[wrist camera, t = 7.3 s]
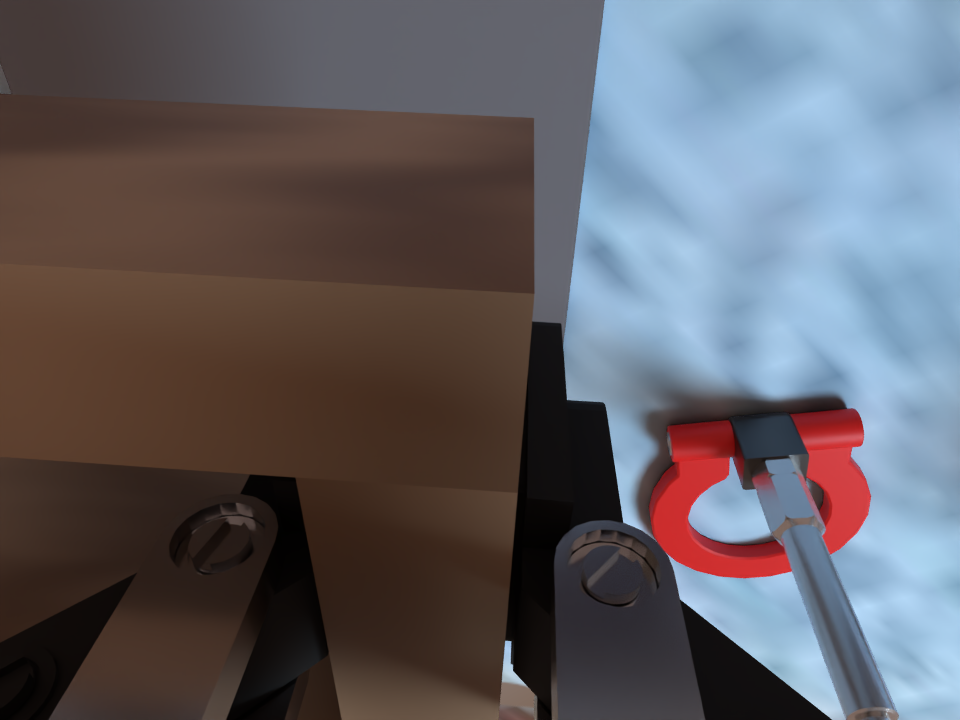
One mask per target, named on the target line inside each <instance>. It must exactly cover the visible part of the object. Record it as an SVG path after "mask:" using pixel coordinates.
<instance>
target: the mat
mask: <svg viewBox="0 0 960 720" xmlns="http://www.w3.org/2000/svg"><path fill="white" fill-rule="evenodd" d="M604 1H605V0H0V63H1V65H2V68H3V71H4V74H5V76H6V79H7V82H8V85H9V87H10V90H11V93H12V94H13V95H35V96H58V97H80V98H102V99H124V100H147V101H169V102H191V103H213V104H235V105H258V106H280V107H302V108H324V109H347V110H369V111H391V112H413V113H436V114H458V115H480V116H502V117H525V118H534V290H535V294H534V306H533V318H532V321H534V322H551V323H561V325H562V338H563V342H564V333H565V325H566V317H567V308H568V300H569V292H570V283H571V275H572V267H573V259H574V250H575V242H576V234H577V225H578V217H579V209H580V200H581V192H582V184H583V176H584V167H585V159H586V151H587V142H588V134H589V126H590V117H591V109H592V101H593V93H594V84H595V76H596V68H597V59H598V51H599V43H600V35H601V26H602V18H603V10H604Z"/></svg>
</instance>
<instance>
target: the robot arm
mask: <svg viewBox="0 0 960 720" xmlns="http://www.w3.org/2000/svg"><path fill="white" fill-rule="evenodd" d="M505 641H512V642H511V664H513V671H514V672H515V673H516V674H517V675H518V677H519V678H520V679H521V680H522V681H523V682H524V683H525V684H526V685H527V686H528V687H529V688H530V689H531V691H532V692H533V693H534V694H535V698H534V720H832V719H830V718H829V717H828V716H827V715H825V714H824V713H823V712H822V711H820V710H819V709H818V708H816V707H815V706H814V705H813V704H811V703H810V702H809V701H808V700H806V699H805V698H804V697H803V696H801V695H800V694H799V693H798V692H796V691H795V690H794V689H792V688H791V687H790V686H789V685H787V684H786V683H785V682H784V681H782V680H781V679H780V678H779V677H777V676H776V675H775V674H774V673H772V672H771V671H770V670H768V669H767V668H766V667H765V666H763V665H762V664H761V663H760V662H758V661H757V660H756V659H755V658H753V657H752V656H751V655H750V654H748V653H747V652H746V651H744V650H743V649H742V648H741V647H739V646H738V645H737V644H736V643H734V642H733V641H732V640H731V639H729V638H728V637H727V636H725V635H724V634H723V633H722V632H720V631H719V630H718V629H717V628H715V627H714V626H713V625H712V624H710V623H709V622H708V621H707V620H705V619H704V618H703V617H701V616H700V615H699V614H698V613H696V612H695V611H694V610H693V609H691V608H690V607H689V606H688V605H686V604H685V603H684V602H683V601H681V600H680V598H679V593H678V588H677V584H676V579H675V574H674V570H673V567H672V565H671V562H670V560H669V557H668V555H667V554H666V553H665V551H664V550H663V549H662V548H661V546H660V545H659V544H658V543H657V542H656V541H655V540H654V539H652V538H651V537H650V536H648V535H647V534H646V533H644V532H643V531H641V530H639V529H637V528H635V527H632V526H630V525H628V524H625V523H623V518H622V511H621V505H620V498H619V491H618V485H617V478H616V471H615V465H614V458H613V451H612V445H611V438H610V431H609V425H608V418H607V411H606V407H605V404H604V403H602V402H587V401H571V400H567V395H566V381H565V367H564V352H563V338H562V325H561V323H551V322H534V321H532V329H531V341H530V353H529V365H528V376H527V388H526V400H525V412H524V423H523V435H522V447H521V459H520V471H519V482H518V494H517V506H516V518H515V529H514V541H513V553H512V565H511V576H510V588H509V600H508V612H507V624H506V635H505ZM328 653H329V650H328V645H327V640H326V634H325V629H324V624H323V619H322V613H321V608H320V603H319V598H318V593H317V587H316V582H315V577H314V572H313V566H312V561H311V556H310V551H309V545H308V540H307V535H306V530H305V524H304V519H303V514H302V509H301V504H300V498H299V493H298V488H297V483H296V477H282V476H268V475H254V474H250V476H249V478H248V479H247V481H246V483H245V485H244V487H243V489H242V491H241V493H240V494H230V495H220V496H216V497H212V498H209V499H205V500H203V501H200V502H198V503H196V504H194V505H192V506H190V507H188V508H186V509H185V510H184V511H183V512H181V513H180V514H179V515H177V516H176V517H175V518H173V519H172V520H171V522H170V523H169V524H168V525H167V527H166V528H165V529H164V530H163V531H162V533H161V534H160V536H159V538H158V539H157V541H156V543H155V544H154V546H153V548H152V549H151V551H150V553H149V554H148V556H147V558H146V559H145V561H144V562H143V564H142V566H141V567H140V569H139V571H138V572H137V573H135V574H133V575H131V576H129V577H127V578H125V579H123V580H121V581H119V582H117V583H115V584H114V585H112V586H110V587H108V588H106V589H104V590H102V591H100V592H98V593H96V594H94V595H92V596H90V597H88V598H86V599H84V600H82V601H80V602H78V603H76V604H74V605H73V606H71V607H69V608H67V609H65V610H63V611H61V612H59V613H57V614H55V615H53V616H51V617H49V618H47V619H45V620H43V621H41V622H39V623H37V624H35V625H33V626H32V627H30V628H28V629H26V630H24V631H22V632H20V633H18V634H16V635H14V636H12V637H10V638H8V639H6V640H4V641H2V642H0V720H297V718H298V715H299V711H300V708H301V705H302V701H303V698H304V694H305V691H306V687H307V684H308V679H309V671H310V668H311V667H312V666H314V665H315V664H316V663H318V662H319V661H321V660H322V659H324V658H325V657H327V656H328Z"/></svg>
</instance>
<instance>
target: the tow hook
mask: <svg viewBox="0 0 960 720" xmlns="http://www.w3.org/2000/svg"><path fill="white" fill-rule="evenodd" d="M863 440H864V430H863V424H862V420H861V417H860V415H859V413H858V412H857V411H856V410H855V409H853V408H851V409H840V410H830V411H819V412H808V413H798V414H789V413H787V412H778V413H768V414H757V415H746V416H736V417H730V418H729V419H728V420H723V421H712V422H702V423H691V424H680V425H670V426H668V428H667V445H668V451H669V455H670V457H671V459H672V462H675V464H674V465H673V466H671V467H670V468H669V469H668V470H667V471H665V473H664V474H663V476H662V477H661V479H660V480H659V482H658V483H657V484H656V486H655V487H654V489H653V492H652V496H651V500H650V504H649V512H650V519H651V525H652V531H653V535H654V537H655V539H656V540H657V542H658V544H659V545H660V546H661V548H662V549H663V550H664V551H665V552H666V553H667V554H668V555H669V556H671V557H672V558H673V559H674V560H675V561H677V562H679V563H681V564H683V565H685V566H687V567H689V568H691V569H694V570H696V571H700V572H704V573H708V574H712V575H716V576H721V577H735V578H753V577H766V576H773V575H778V574H782V573H787V572H791V571H792V572H793V575H794V578H795V581H796V583H797V586H798V589H799V592H800V594H801V597H802V600H803V603H804V605H805V608H806V611H807V614H808V616H809V619H810V622H811V625H812V627H813V630H814V633H815V636H816V638H817V641H818V644H819V647H820V649H821V652H822V655H823V658H824V661H825V663H826V666H827V669H828V672H829V674H830V677H831V680H832V683H833V685H834V688H835V691H836V694H837V696H838V699H839V702H840V705H841V707H842V710H843V713H844V716H845V718H846V720H897V719H898V717H899V715H898V712H897V710H896V708H895V705H894V703H893V701H892V698H891V696H890V694H889V691H888V689H887V687H886V684H885V682H884V680H883V677H882V675H881V673H880V670H879V668H878V666H877V663H876V661H875V658H874V656H873V654H872V651H871V649H870V647H869V644H868V642H867V640H866V637H865V635H864V633H863V630H862V628H861V626H860V623H859V621H858V619H857V616H856V614H855V612H854V609H853V607H852V605H851V602H850V600H849V598H848V595H847V593H846V591H845V588H844V586H843V584H842V581H841V579H840V577H839V574H838V572H837V570H836V567H835V565H834V563H833V560H832V558H831V556H830V554H832V553H834V552H835V551H837V550H839V549H840V548H842V547H843V546H844V545H845V544H846V543H847V542H848V541H849V540H850V539H851V538H852V537H853V536H854V535H855V534H856V533H857V532H858V531H859V529H860V528H861V526H862V524H863V522H864V521H865V519H866V517H867V516H868V512H869V506H870V500H871V495H870V491H869V488H868V485H867V481H866V478H865V476H864V474H863V473H862V471H861V469H860V467H859V466H858V465H857V464H856V462H855V461H854V460H853V459H852V458H851V457H850V456H851V451H852V447H859V446H861V445H862V443H863ZM730 457H732V458H733V461H734V464H735V467H736V470H737V473H738V476H739V479H740V482H741V485H742V488H743V489H745V490H749V489H756V490H757V495H758V498H759V501H760V504H761V507H762V509H763V512H764V515H765V518H766V521H767V524H768V526H769V529H770V532H771V534H772V535H773V537H774V538H775V539H776V541H772V542H768V543H764V544H758V545H746V546H741V545H728V544H724V543H720V542H716V541H712V540H710V539H708V538H706V537H704V536H702V535H700V534H699V533H698V532H697V531H696V530H695V529H694V528H692V527H691V525H690V523H689V521H688V515H689V512H690V509H691V506H692V505H693V503H694V502H695V501H696V499H697V498H698V497H699V496H700V495H701V494H702V493H703V492H704V491H706V490H707V489H708V488H710V487H711V486H712V485H714V484H716V483H718V482H720V481H722V480H724V479H726V477H727V476H728V475H729V461H730ZM806 477H807V478H809V479H810V480H812V481H814V482H816V483H817V484H818V485H819V486H820V487H821V488H822V489H823V490H824V498H823V504H822V506H821V508H820V510H819V511H818V509H817V506H816V504H815V502H814V500H813V497H812V495H811V493H810V491H809V489H808V487H807V485H806Z"/></svg>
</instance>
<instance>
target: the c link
mask: <svg viewBox="0 0 960 720" xmlns="http://www.w3.org/2000/svg"><path fill="white" fill-rule="evenodd" d="M534 294H535V290H534V118H525V117H502V116H480V115H458V114H436V113H413V112H391V111H369V110H347V109H324V108H302V107H280V106H258V105H235V104H213V103H191V102H169V101H147V100H124V99H102V98H80V97H58V96H35V95H13V94H0V642H2V641H4V640H6V639H8V638H10V637H12V636H14V635H16V634H18V633H20V632H22V631H24V630H26V629H28V628H30V627H32V626H33V625H35V624H37V623H39V622H41V621H43V620H45V619H47V618H49V617H51V616H53V615H55V614H57V613H59V612H61V611H63V610H65V609H67V608H69V607H71V606H73V605H74V604H76V603H78V602H80V601H82V600H84V599H86V598H88V597H90V596H92V595H94V594H96V593H98V592H100V591H102V590H104V589H106V588H108V587H110V586H112V585H114V584H115V583H117V582H119V581H121V580H123V579H125V578H127V577H129V576H131V575H133V574H135V573H137V572H138V571H139V569H140V567H141V566H142V564H143V562H144V561H145V559H146V558H147V556H148V554H149V553H150V551H151V549H152V548H153V546H154V544H155V543H156V541H157V539H158V538H159V536H160V534H161V533H162V531H163V530H164V529H165V528H166V527H167V525H168V524H169V523H170V522H171V520H172V519H173V518H175V517H176V516H177V515H179V514H180V513H181V512H183V511H184V510H185V509H186V508H188V507H190V506H192V505H194V504H196V503H198V502H200V501H203V500H205V499H209V498H212V497H216V496H220V495H230V494H240V493H241V491H242V489H243V487H244V485H245V483H246V481H247V479H248V478H249V476H250V474H254V475H268V476H282V477H296V483H297V488H298V493H299V498H300V504H301V509H302V514H303V519H304V524H305V530H306V535H307V540H308V545H309V551H310V556H311V561H312V566H313V572H314V577H315V582H316V587H317V593H318V598H319V603H320V608H321V613H322V619H323V624H324V629H325V634H326V640H327V645H328V650H329V653H328V656H327V657H325V658H324V659H322V660H321V661H319V662H318V663H316V664H315V665H314V666H312V667H311V668H310V671H309V679H308V684H307V687H306V691H305V694H304V698H303V701H302V705H301V708H300V711H299V715H298V718H297V720H498V718H499V706H500V694H501V682H502V671H503V659H504V647H505V635H506V624H507V612H508V600H509V588H510V576H511V565H512V553H513V541H514V529H515V518H516V506H517V494H518V482H519V471H520V459H521V447H522V435H523V423H524V412H525V400H526V388H527V376H528V365H529V353H530V341H531V329H532V318H533V306H534Z"/></svg>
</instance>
